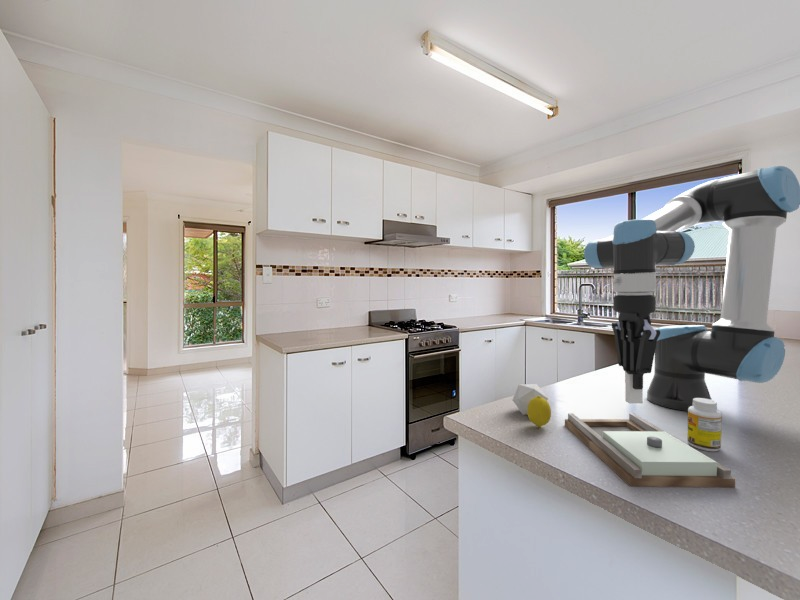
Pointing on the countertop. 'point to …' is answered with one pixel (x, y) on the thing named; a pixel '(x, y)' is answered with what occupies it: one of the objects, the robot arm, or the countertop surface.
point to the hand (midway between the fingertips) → (633, 402)
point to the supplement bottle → (704, 425)
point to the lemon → (539, 411)
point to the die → (526, 396)
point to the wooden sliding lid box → (626, 469)
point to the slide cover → (661, 453)
